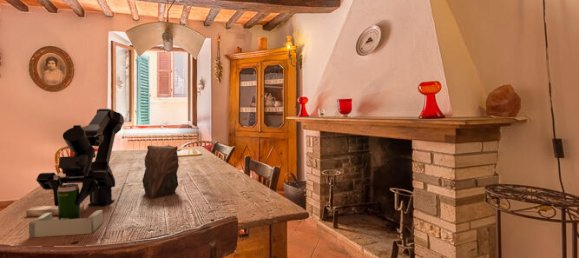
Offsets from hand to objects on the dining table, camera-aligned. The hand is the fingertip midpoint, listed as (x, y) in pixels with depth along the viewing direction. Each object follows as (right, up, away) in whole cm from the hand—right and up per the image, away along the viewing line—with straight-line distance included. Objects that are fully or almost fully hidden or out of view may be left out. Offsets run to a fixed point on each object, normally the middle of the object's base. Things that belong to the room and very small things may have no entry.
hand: (66, 205), depth 95 cm
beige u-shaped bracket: (0, -7, +2) cm, 7 cm away
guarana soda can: (0, -7, +2) cm, 7 cm away
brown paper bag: (+11, -5, +40) cm, 42 cm away
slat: (-14, -6, +16) cm, 22 cm away
